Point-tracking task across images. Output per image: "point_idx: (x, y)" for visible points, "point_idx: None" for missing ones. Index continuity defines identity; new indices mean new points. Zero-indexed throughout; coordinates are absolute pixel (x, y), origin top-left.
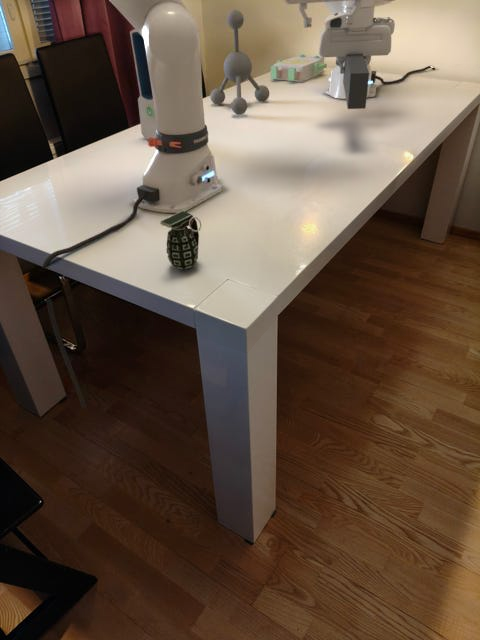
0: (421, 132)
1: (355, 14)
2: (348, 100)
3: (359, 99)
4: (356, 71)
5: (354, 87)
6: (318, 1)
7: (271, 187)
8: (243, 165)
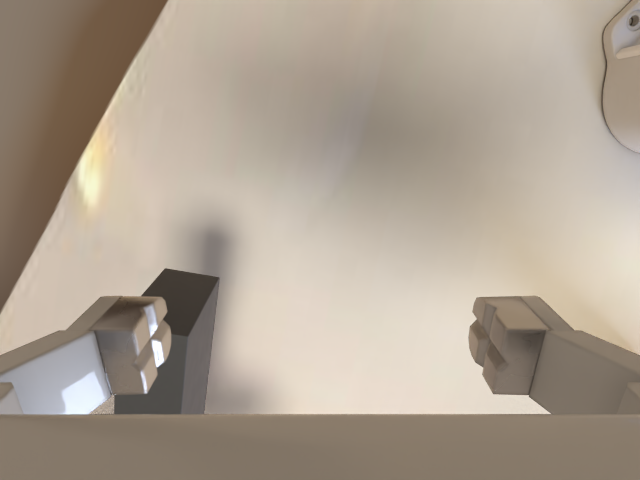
0: (38, 323)
1: (52, 333)
2: (213, 289)
3: (176, 284)
4: None
5: (184, 306)
6: (532, 416)
7: (474, 28)
8: (503, 196)
